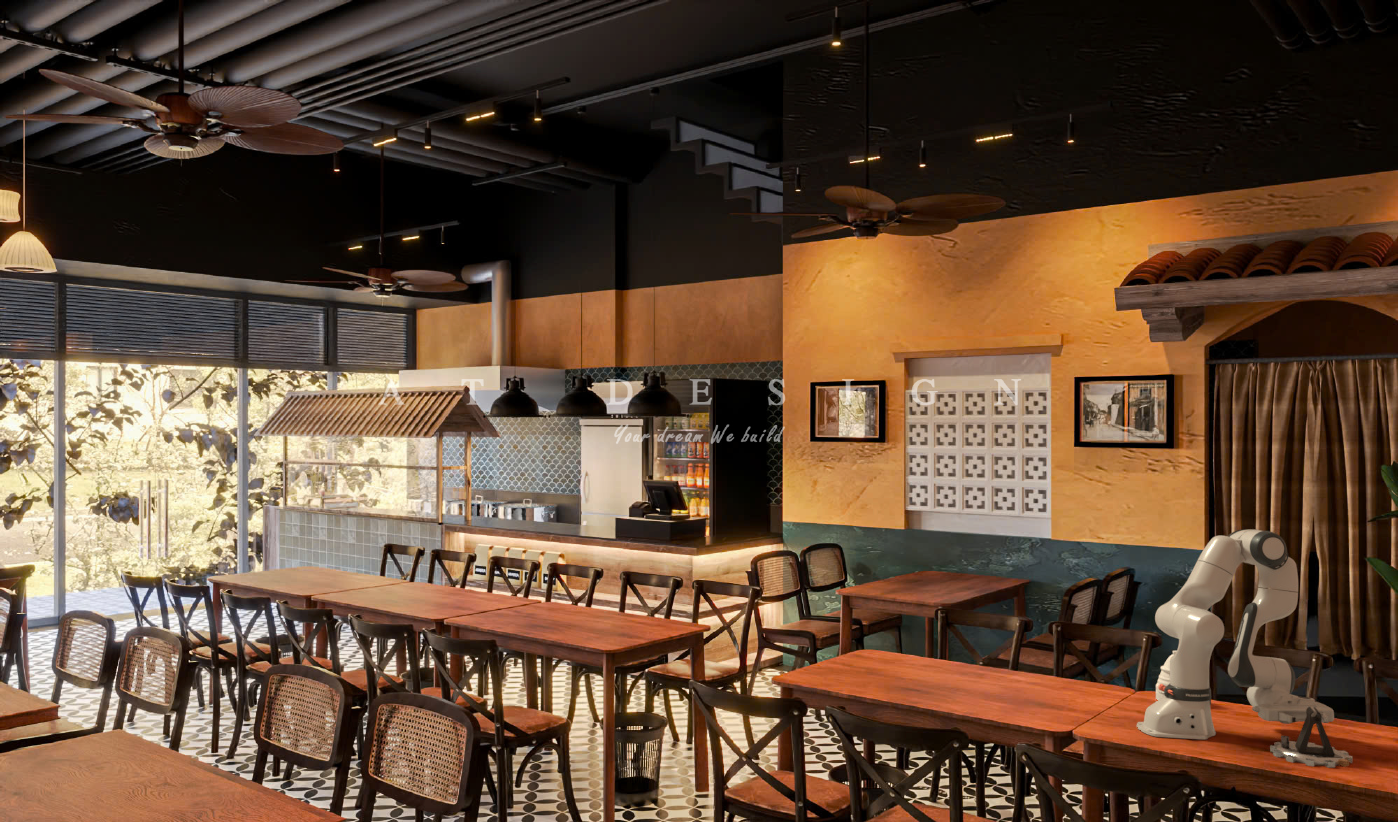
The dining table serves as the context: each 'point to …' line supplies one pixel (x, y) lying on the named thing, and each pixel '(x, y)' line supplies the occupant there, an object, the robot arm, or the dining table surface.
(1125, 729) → the dining table surface
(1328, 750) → the dark grey triangular bracket
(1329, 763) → the sprocket
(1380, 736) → the dining table surface
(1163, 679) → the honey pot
